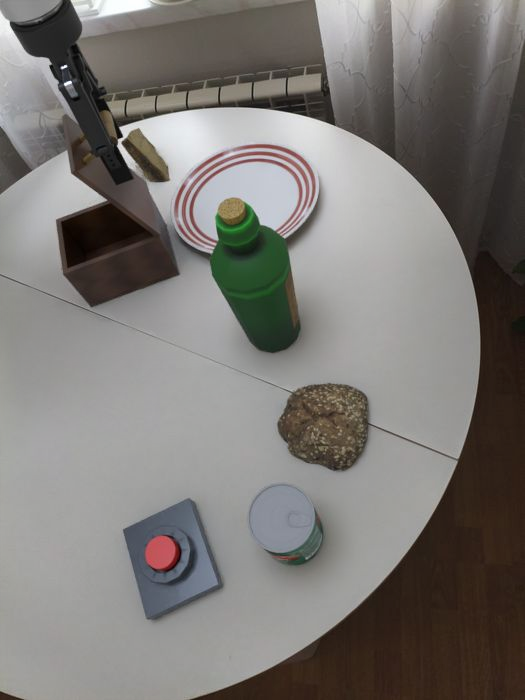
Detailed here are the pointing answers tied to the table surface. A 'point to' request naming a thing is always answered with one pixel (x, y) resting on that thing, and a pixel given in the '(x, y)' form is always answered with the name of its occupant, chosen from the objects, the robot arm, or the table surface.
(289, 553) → the canned tomato
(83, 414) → the table surface
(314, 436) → the bread roll
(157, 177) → the rock
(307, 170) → the dinner plate
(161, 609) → the button block
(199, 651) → the table surface
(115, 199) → the lid
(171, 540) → the button
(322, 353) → the table surface
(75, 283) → the chest
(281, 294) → the bottle
